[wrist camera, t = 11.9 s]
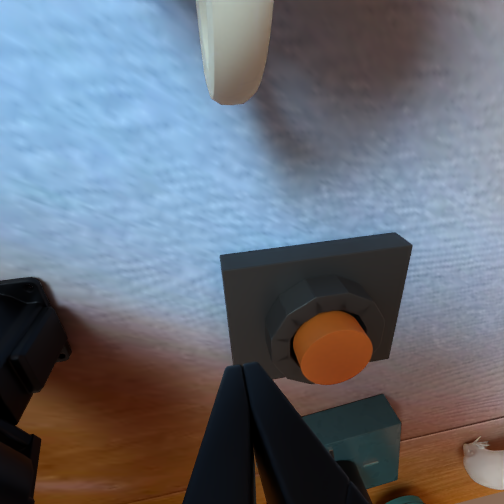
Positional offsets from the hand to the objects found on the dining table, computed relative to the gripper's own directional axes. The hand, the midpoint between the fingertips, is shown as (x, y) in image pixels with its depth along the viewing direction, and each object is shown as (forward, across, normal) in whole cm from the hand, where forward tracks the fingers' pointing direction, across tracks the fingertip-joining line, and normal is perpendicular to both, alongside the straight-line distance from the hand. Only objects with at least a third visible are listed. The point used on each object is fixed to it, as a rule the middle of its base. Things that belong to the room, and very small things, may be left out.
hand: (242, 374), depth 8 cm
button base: (+12, -6, +8) cm, 16 cm away
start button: (+8, -6, +8) cm, 13 cm away
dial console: (+12, -8, +26) cm, 30 cm away
